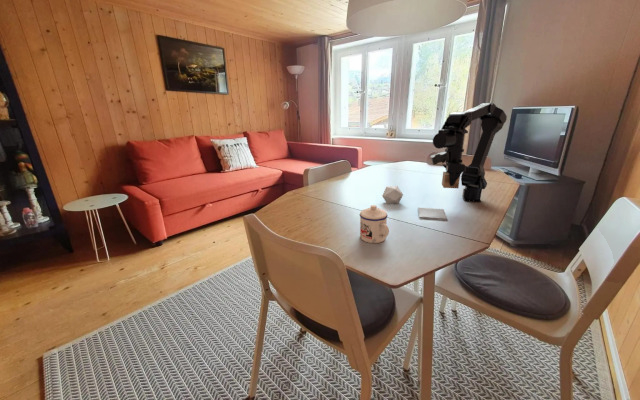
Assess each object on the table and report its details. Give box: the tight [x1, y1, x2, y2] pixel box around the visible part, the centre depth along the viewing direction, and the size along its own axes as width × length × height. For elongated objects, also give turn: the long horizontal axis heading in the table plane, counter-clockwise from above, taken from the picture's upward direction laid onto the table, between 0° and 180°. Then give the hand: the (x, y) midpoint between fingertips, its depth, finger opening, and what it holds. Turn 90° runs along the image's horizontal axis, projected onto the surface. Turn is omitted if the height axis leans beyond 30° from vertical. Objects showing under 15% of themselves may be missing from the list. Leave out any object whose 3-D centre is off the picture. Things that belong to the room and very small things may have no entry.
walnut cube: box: [441, 171, 461, 189], centre depth 107 cm, size 6×6×6 cm
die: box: [381, 185, 404, 205], centre depth 118 cm, size 8×9×10 cm
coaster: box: [417, 207, 448, 221], centre depth 105 cm, size 10×10×1 cm
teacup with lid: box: [359, 204, 390, 244], centre depth 86 cm, size 12×9×12 cm
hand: (450, 183), depth 108 cm, fingers closed on walnut cube, 5 cm apart
